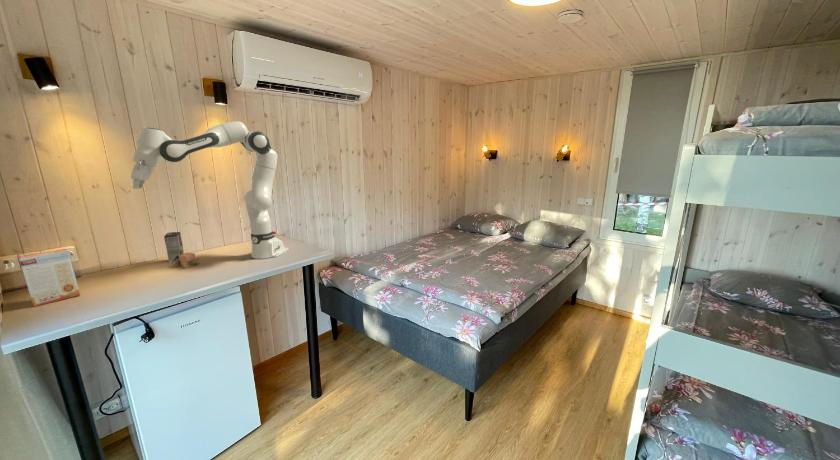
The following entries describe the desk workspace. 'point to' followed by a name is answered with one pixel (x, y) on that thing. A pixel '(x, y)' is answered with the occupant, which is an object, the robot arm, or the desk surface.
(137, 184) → the robot arm
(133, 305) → the desk surface
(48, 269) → the cracker box
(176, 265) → the chute
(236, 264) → the desk surface
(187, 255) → the block
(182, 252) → the coffee box
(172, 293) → the desk surface
